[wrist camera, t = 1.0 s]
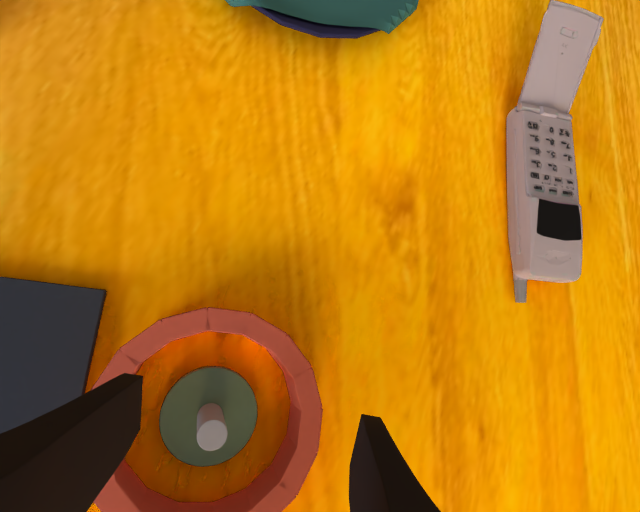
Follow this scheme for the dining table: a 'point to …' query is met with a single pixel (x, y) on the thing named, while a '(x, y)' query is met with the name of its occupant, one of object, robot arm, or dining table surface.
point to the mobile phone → (548, 152)
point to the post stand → (208, 416)
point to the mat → (44, 346)
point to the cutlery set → (334, 15)
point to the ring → (295, 451)
